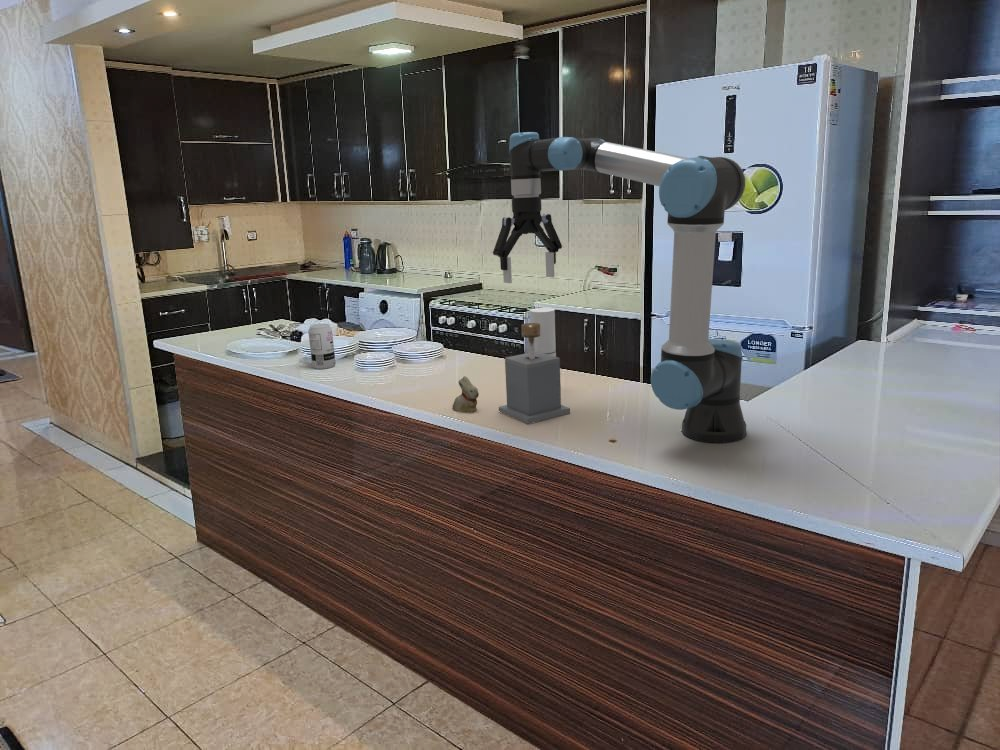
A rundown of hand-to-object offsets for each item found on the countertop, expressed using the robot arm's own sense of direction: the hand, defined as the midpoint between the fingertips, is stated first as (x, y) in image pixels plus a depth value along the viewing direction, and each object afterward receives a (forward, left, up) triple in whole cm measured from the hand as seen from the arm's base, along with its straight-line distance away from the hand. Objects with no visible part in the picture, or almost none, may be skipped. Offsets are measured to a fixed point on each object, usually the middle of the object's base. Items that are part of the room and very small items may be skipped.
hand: (529, 279), depth 192 cm
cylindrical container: (+14, -14, -37) cm, 42 cm away
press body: (0, 0, -36) cm, 37 cm away
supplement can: (+94, +26, -37) cm, 104 cm away
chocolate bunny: (+15, +13, -37) cm, 42 cm away
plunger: (0, 0, -32) cm, 32 cm away
